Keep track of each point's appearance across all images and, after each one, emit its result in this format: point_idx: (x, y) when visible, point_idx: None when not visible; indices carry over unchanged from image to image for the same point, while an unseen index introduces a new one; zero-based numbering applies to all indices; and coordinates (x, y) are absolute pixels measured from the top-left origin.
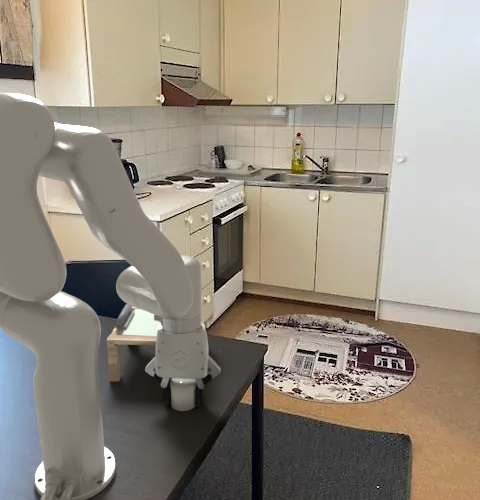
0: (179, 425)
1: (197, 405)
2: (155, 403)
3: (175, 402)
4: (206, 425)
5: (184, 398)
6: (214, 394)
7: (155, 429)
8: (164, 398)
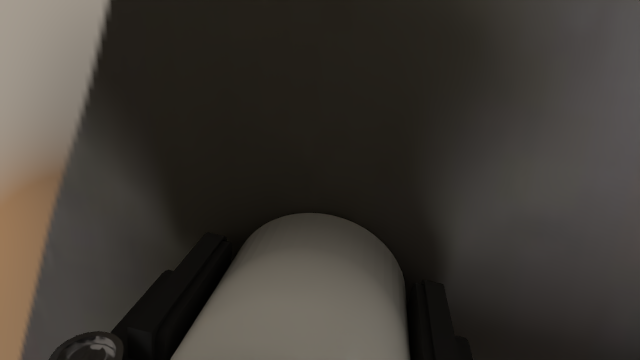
0: (356, 60)
1: (216, 236)
2: (510, 327)
3: (373, 271)
4: (155, 34)
5: (287, 273)
6: None
7: (563, 30)
8: (457, 337)
